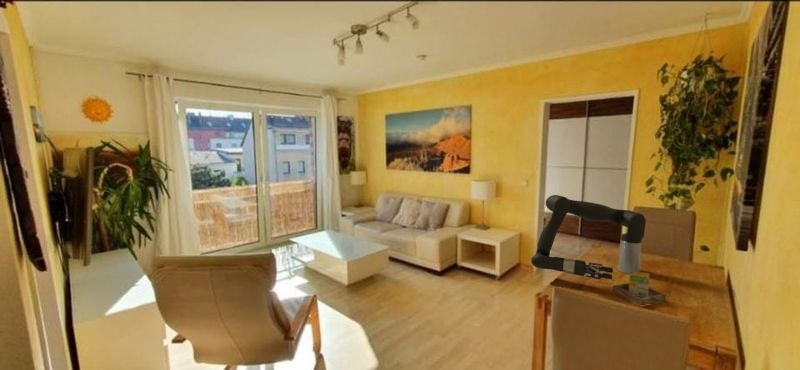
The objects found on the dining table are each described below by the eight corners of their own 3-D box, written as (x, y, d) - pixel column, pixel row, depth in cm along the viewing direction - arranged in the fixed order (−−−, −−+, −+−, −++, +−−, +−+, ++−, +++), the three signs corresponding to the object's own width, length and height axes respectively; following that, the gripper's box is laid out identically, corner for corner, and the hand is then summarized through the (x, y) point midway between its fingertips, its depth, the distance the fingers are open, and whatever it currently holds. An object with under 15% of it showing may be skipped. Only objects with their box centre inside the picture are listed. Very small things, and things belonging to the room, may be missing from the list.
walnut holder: (635, 288, 160) (635, 281, 159) (665, 301, 146) (665, 294, 146) (612, 292, 156) (612, 285, 155) (641, 307, 143) (641, 299, 142)
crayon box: (647, 295, 150) (649, 271, 148) (648, 298, 148) (650, 273, 146) (628, 291, 154) (630, 268, 153) (628, 294, 152) (630, 270, 150)
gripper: (572, 264, 158) (612, 271, 149) (576, 255, 170) (613, 261, 161) (571, 279, 159) (611, 287, 150) (575, 268, 171) (612, 275, 162)
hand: (612, 273), depth 155 cm, fingers open, 8 cm apart
